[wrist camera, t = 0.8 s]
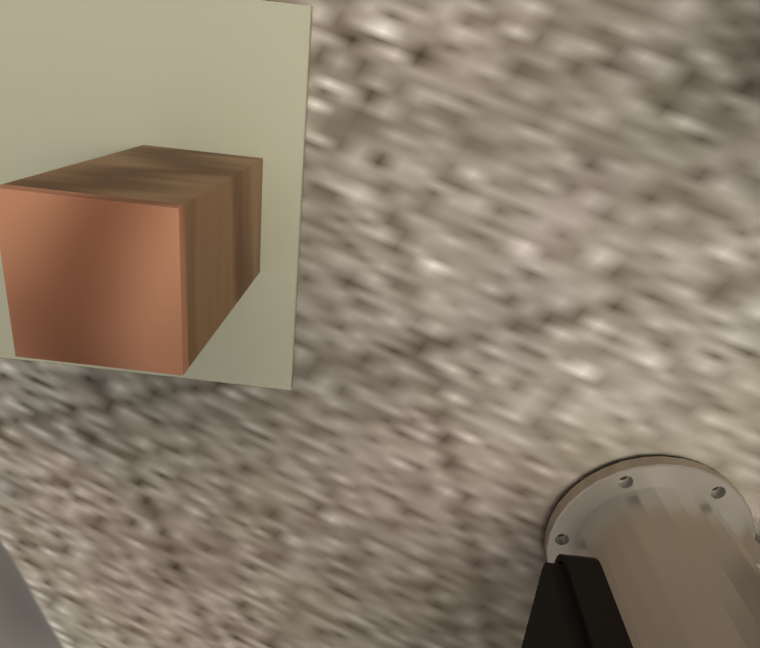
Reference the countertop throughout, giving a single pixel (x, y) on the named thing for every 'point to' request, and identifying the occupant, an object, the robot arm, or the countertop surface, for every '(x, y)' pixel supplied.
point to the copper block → (130, 255)
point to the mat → (171, 129)
